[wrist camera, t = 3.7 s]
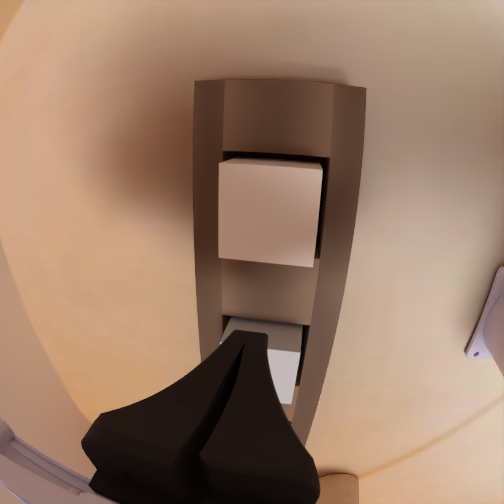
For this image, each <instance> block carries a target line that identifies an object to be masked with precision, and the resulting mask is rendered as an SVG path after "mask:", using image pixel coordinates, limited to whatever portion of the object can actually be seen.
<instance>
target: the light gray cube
mask: <svg viewBox="0 0 504 504" xmlns="http://www.w3.org/2000/svg"><path fill="white" fill-rule="evenodd" d="M302 327H303V324H293V323H284V322H275V321H267V320H259V319H251V318H243V317H236V316H231V318H230V320H229V323H228V325H227V327H226V330H225V332H224V334H223V336H222V339H221V341H220V344H221V343H222V342H223V341H224V340H225V339H226V338H227V337H228V336H229V335H230V334H231V332H232V331H234V330H235V329H236V330H244V331H252V332H261V333H266V334H267V335H268V352H267V353H268V361H269V366H270V371H271V375H272V379H273V383H274V386H275V389H276V392H277V395H278V398H279V400H280V403H283V404H291V403H292V398H293V392H294V387H295V382H296V376H297V370H298V365H299V359H300V353H301V341H302Z"/></svg>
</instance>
